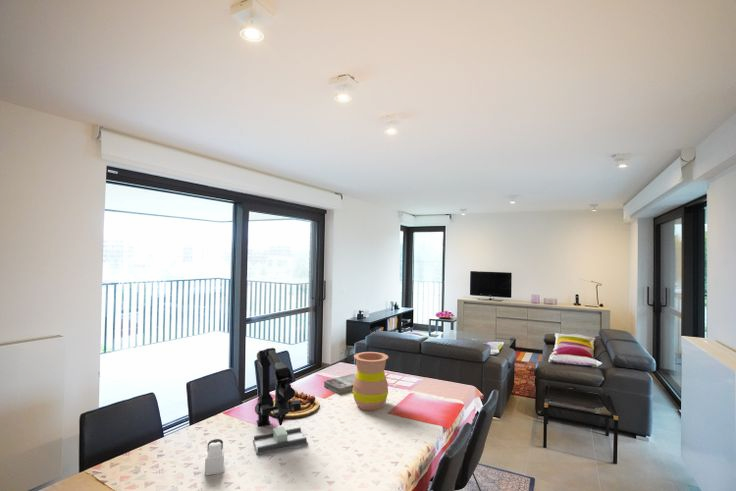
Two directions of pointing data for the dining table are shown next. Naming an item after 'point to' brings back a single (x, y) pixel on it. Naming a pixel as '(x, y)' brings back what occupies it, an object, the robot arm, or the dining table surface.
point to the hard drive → (340, 384)
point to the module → (280, 434)
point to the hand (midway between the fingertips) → (280, 425)
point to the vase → (370, 381)
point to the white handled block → (214, 457)
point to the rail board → (268, 444)
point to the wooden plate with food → (307, 406)
